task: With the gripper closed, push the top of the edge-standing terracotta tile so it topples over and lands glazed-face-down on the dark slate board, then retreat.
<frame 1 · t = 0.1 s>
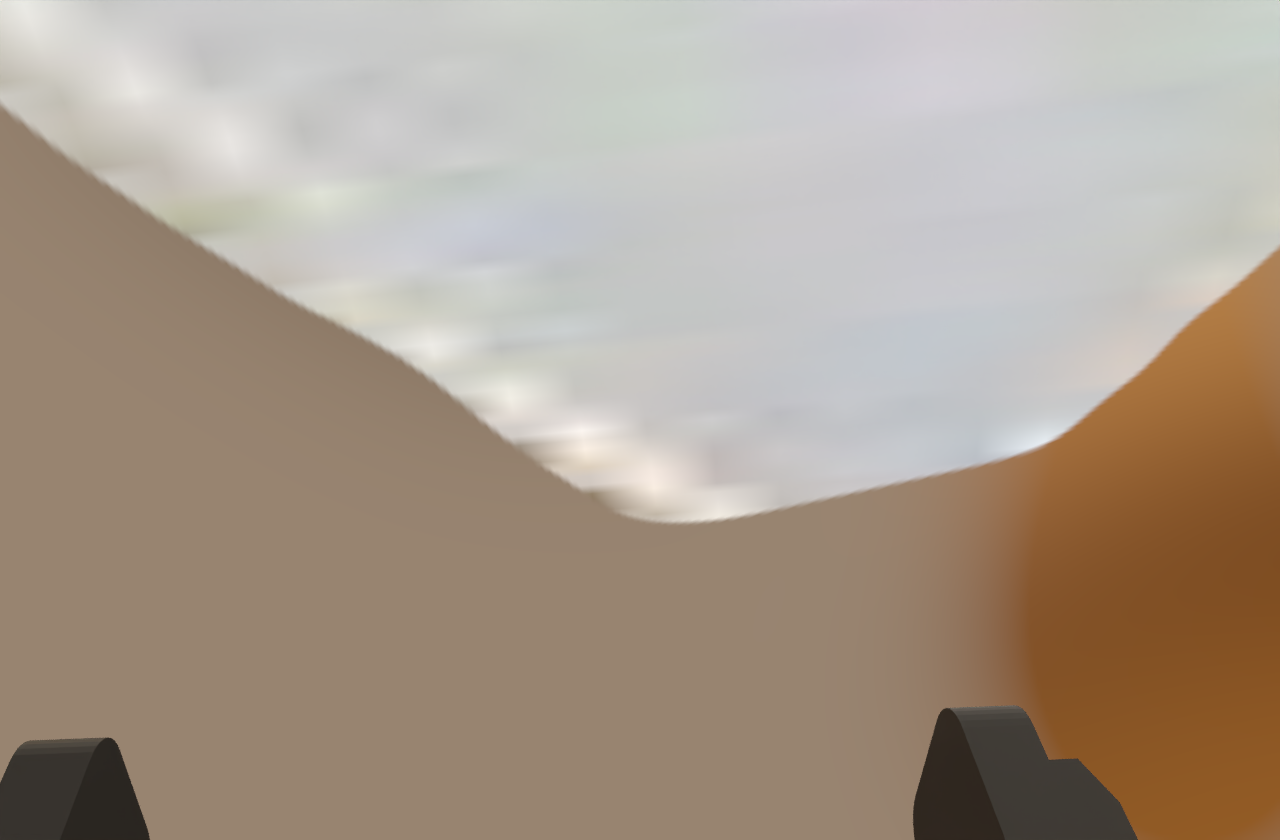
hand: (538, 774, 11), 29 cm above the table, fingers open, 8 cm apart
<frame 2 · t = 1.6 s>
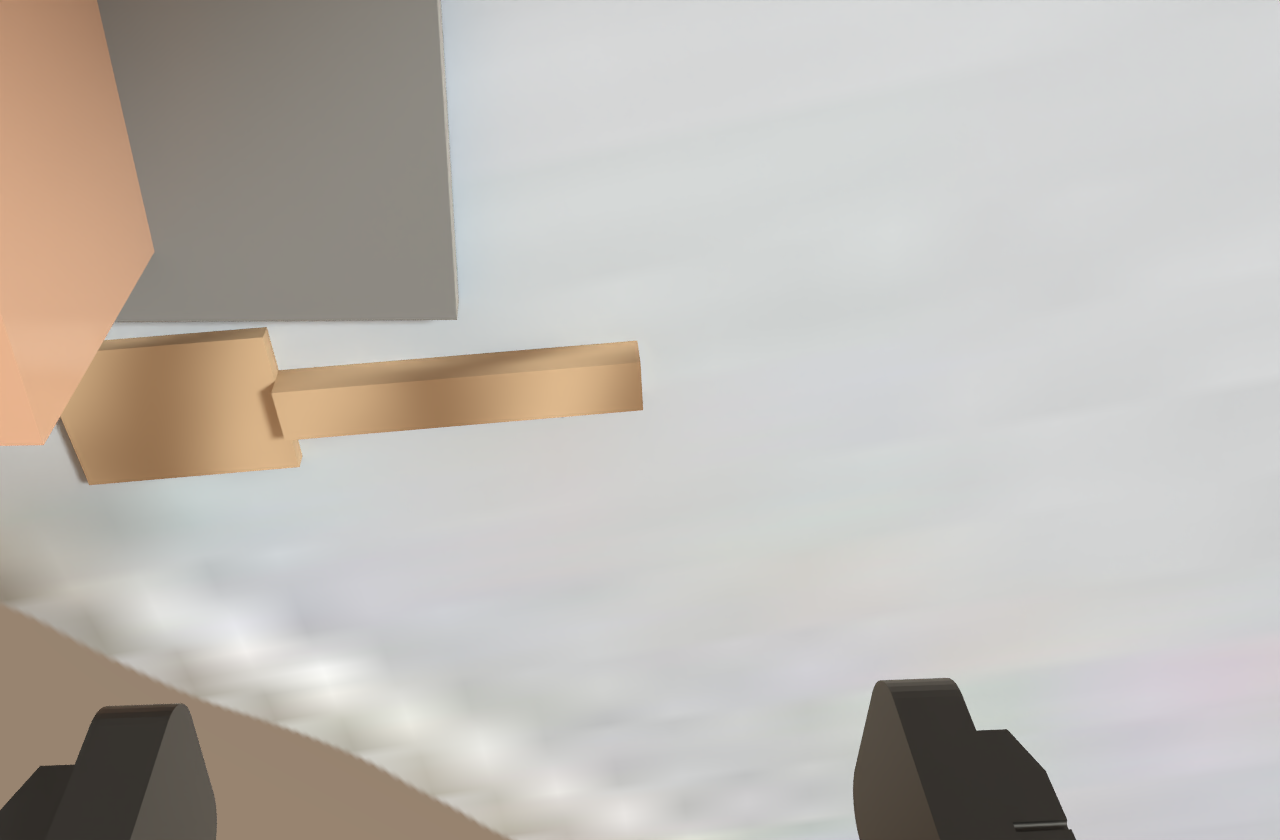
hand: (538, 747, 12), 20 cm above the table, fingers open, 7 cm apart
turner: (285, 392, 32), on the table
tile: (86, 92, 26), point 1 cm above the table, touching board
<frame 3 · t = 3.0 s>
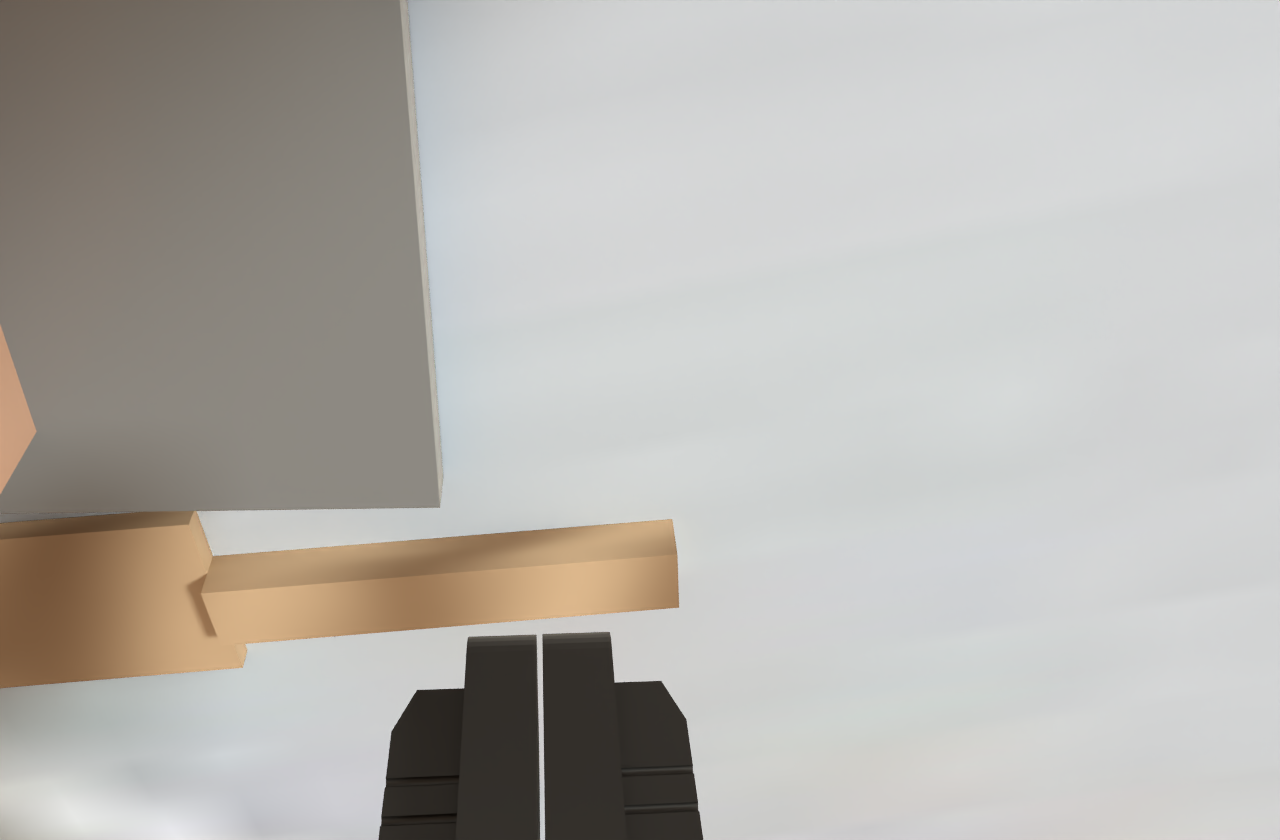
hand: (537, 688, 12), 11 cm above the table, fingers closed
turner: (223, 580, 25), on the table
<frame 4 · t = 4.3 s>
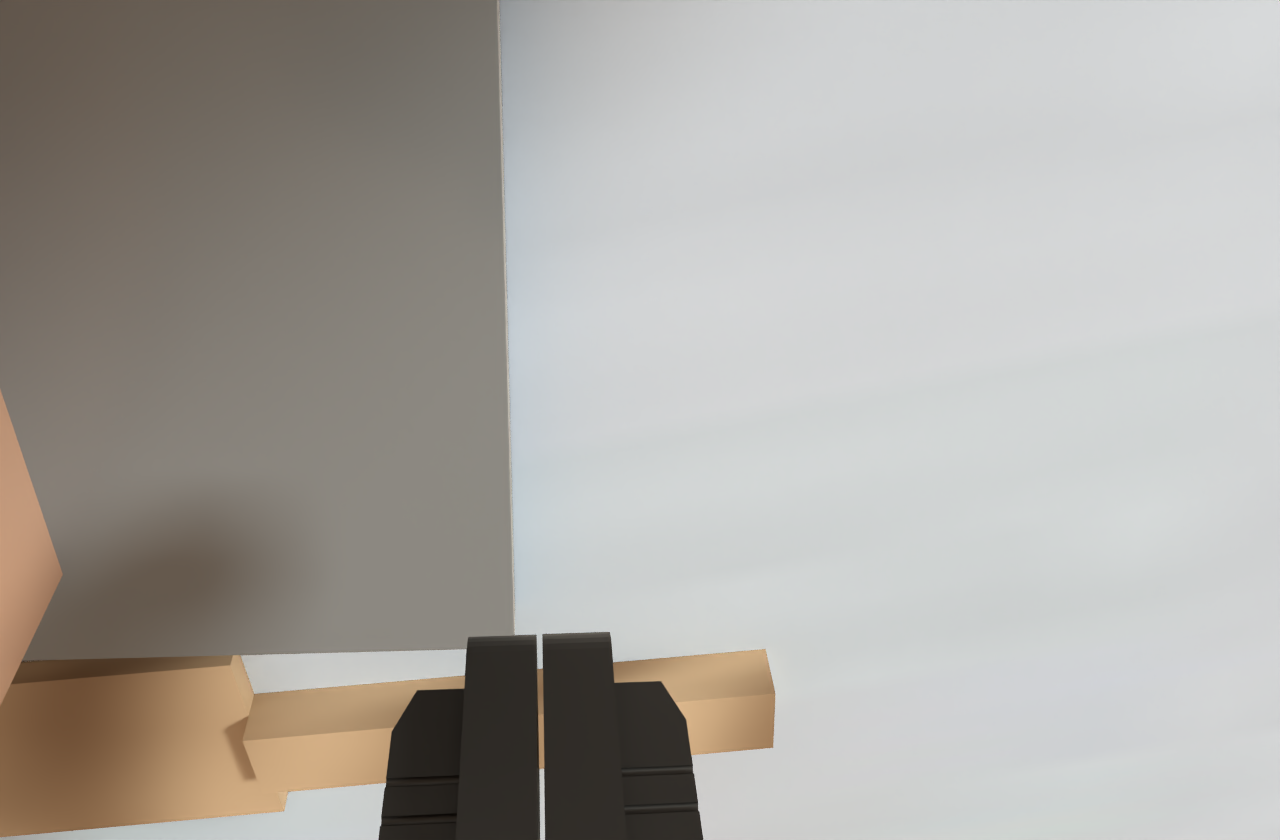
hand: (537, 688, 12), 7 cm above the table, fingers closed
turner: (264, 717, 23), on the table
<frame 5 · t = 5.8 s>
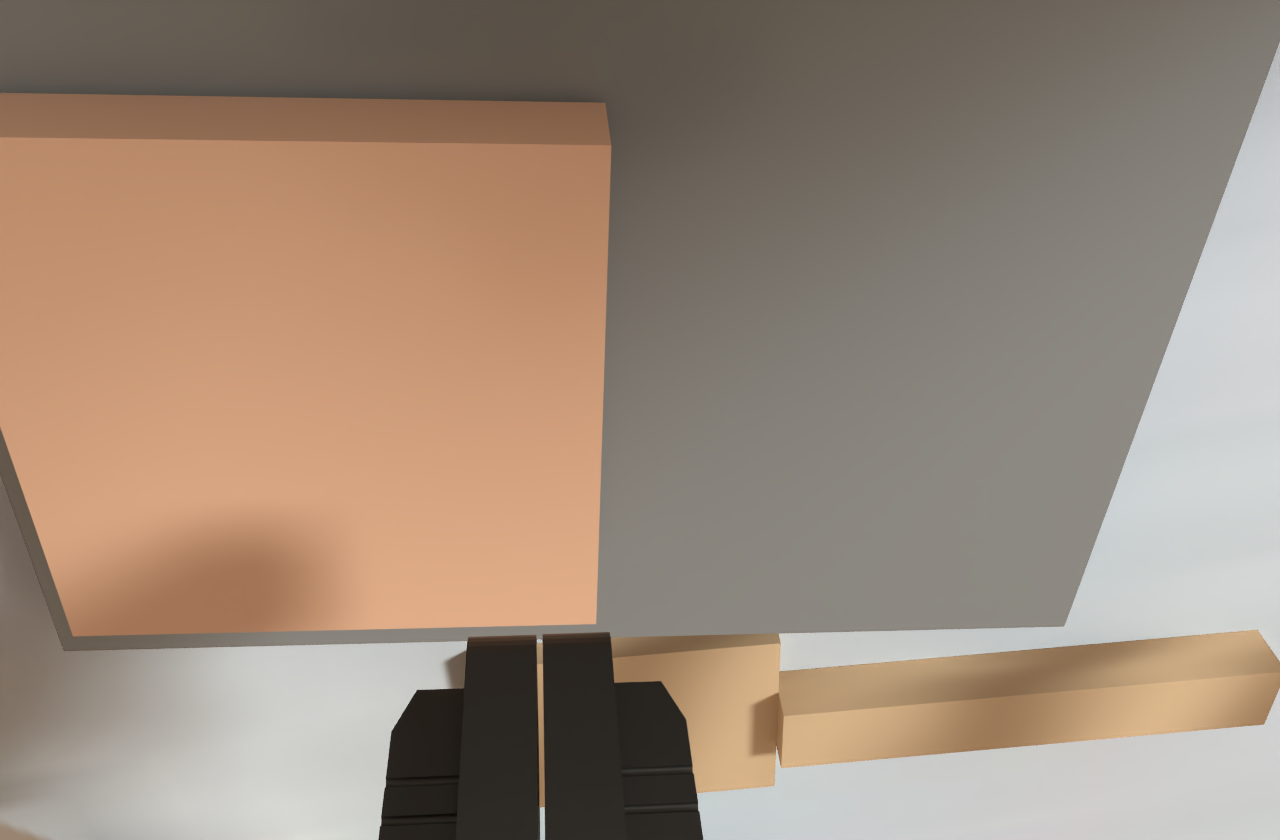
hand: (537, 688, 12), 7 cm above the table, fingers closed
turner: (772, 695, 24), on the table
board: (590, 140, 16), on the table
tile: (600, 391, 16), point 2 cm above the table, tilted 90°, touching board
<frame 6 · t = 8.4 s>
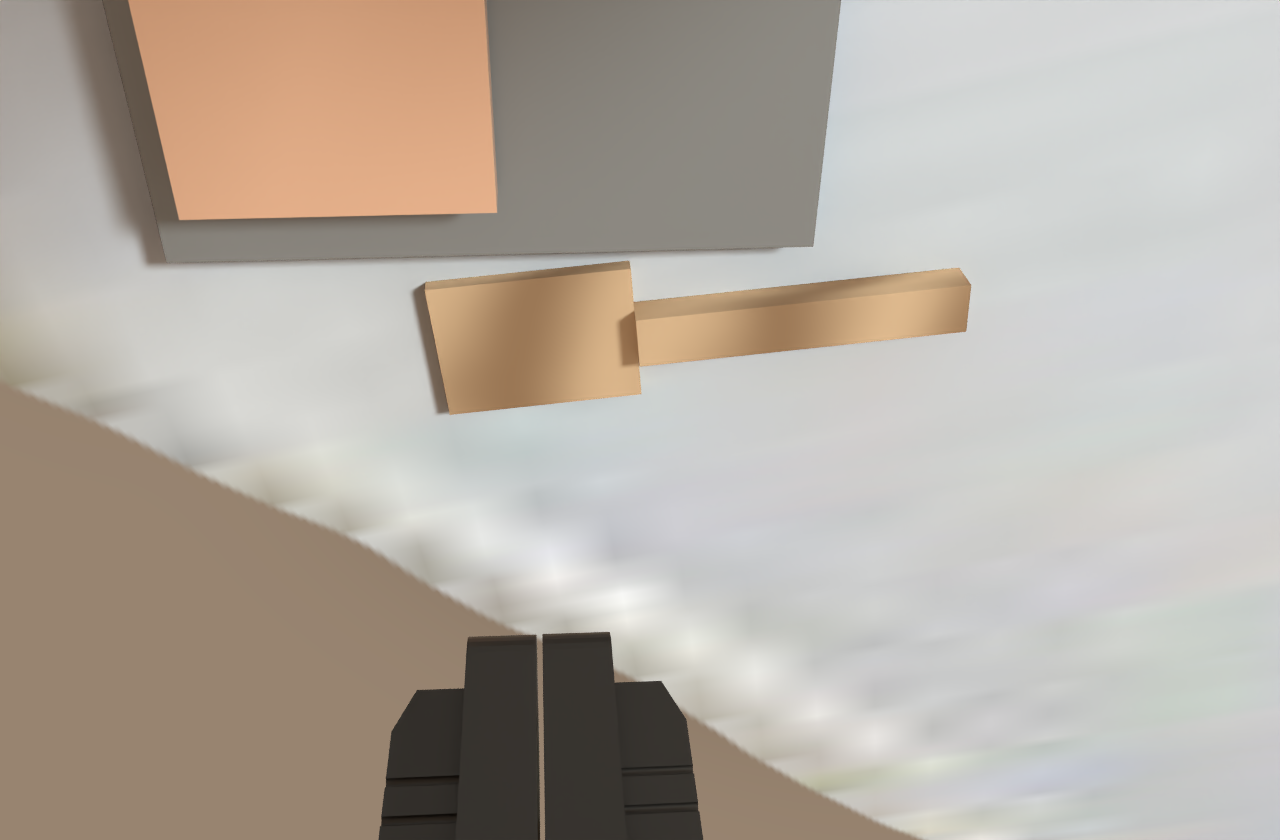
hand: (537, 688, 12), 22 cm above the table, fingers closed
turner: (634, 323, 35), on the table
tile: (488, 49, 28), point 2 cm above the table, tilted 90°, touching board
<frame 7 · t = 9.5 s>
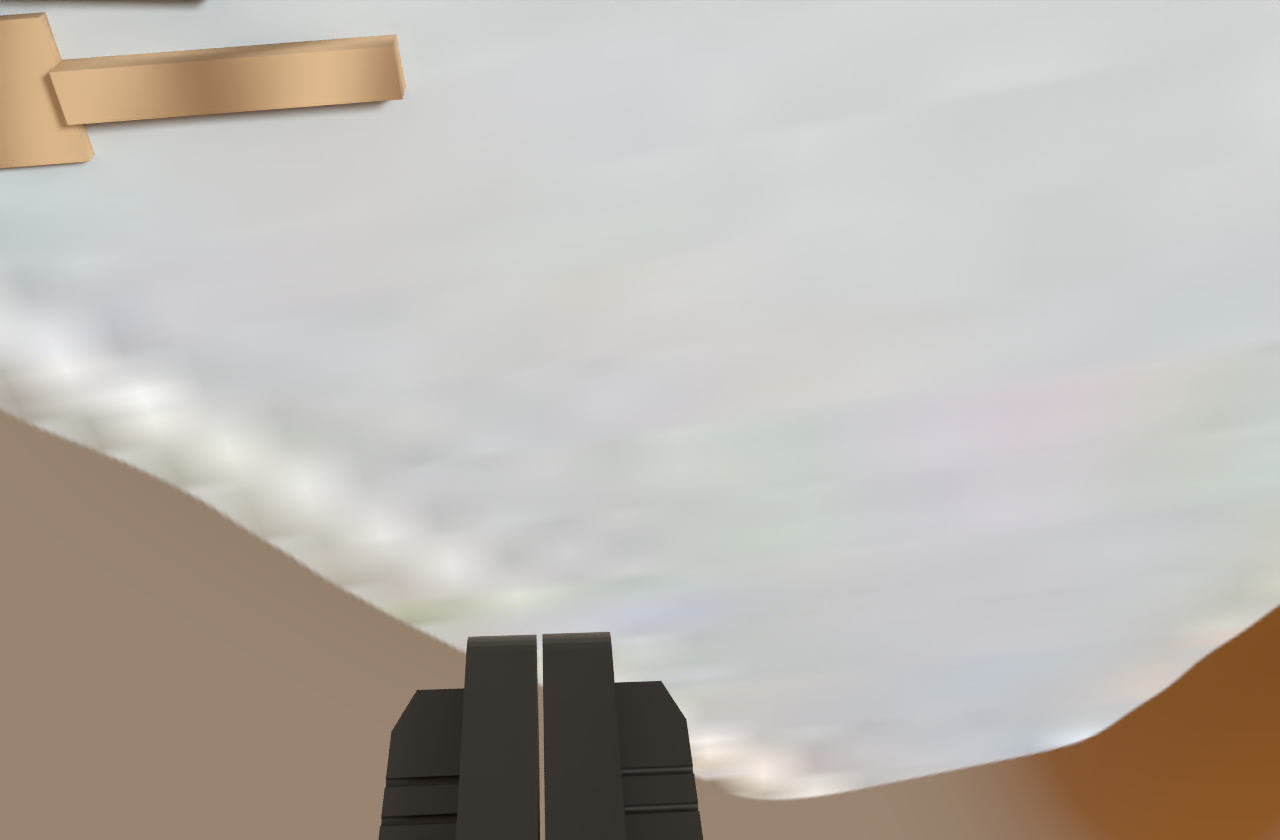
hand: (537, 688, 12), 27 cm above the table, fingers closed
turner: (71, 85, 35), on the table
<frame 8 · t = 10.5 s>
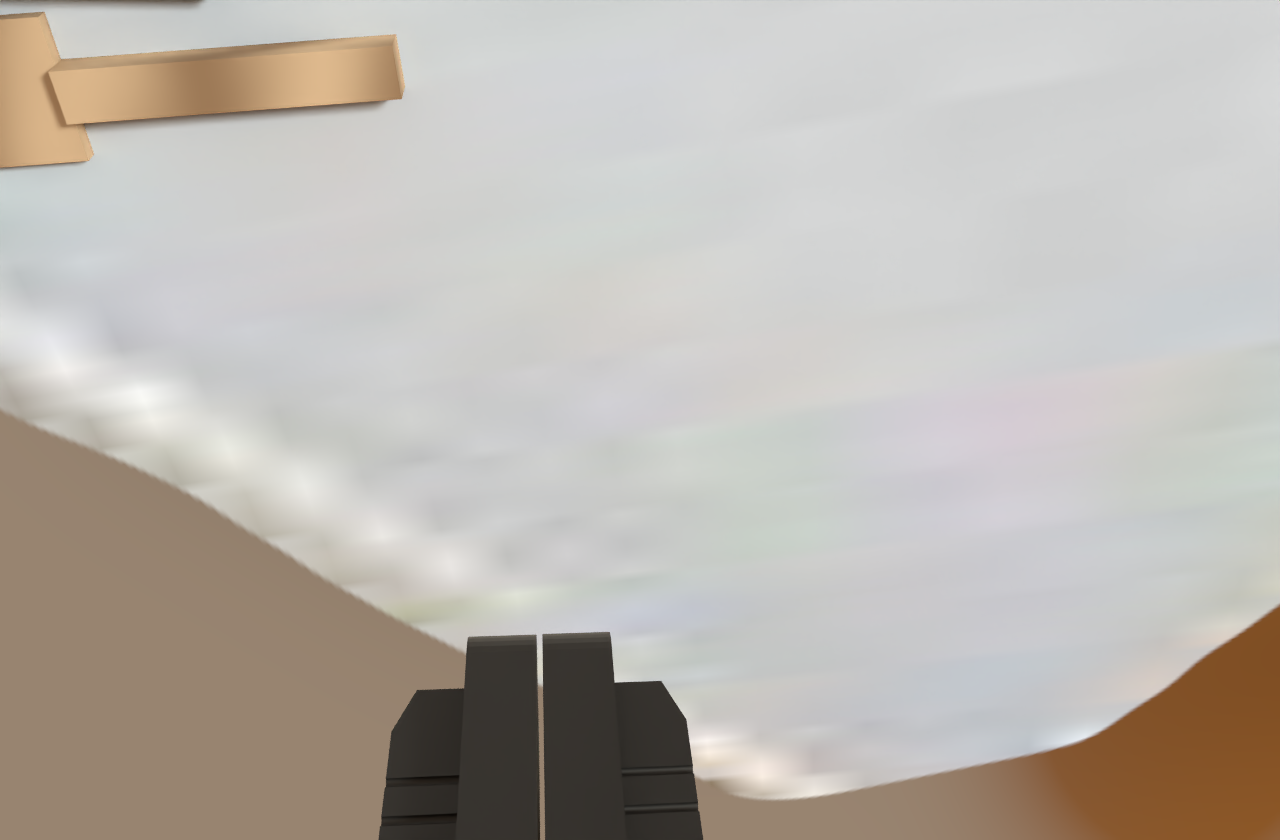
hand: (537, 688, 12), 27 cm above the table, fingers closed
turner: (70, 84, 35), on the table
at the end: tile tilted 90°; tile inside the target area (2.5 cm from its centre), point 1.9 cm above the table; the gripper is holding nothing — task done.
